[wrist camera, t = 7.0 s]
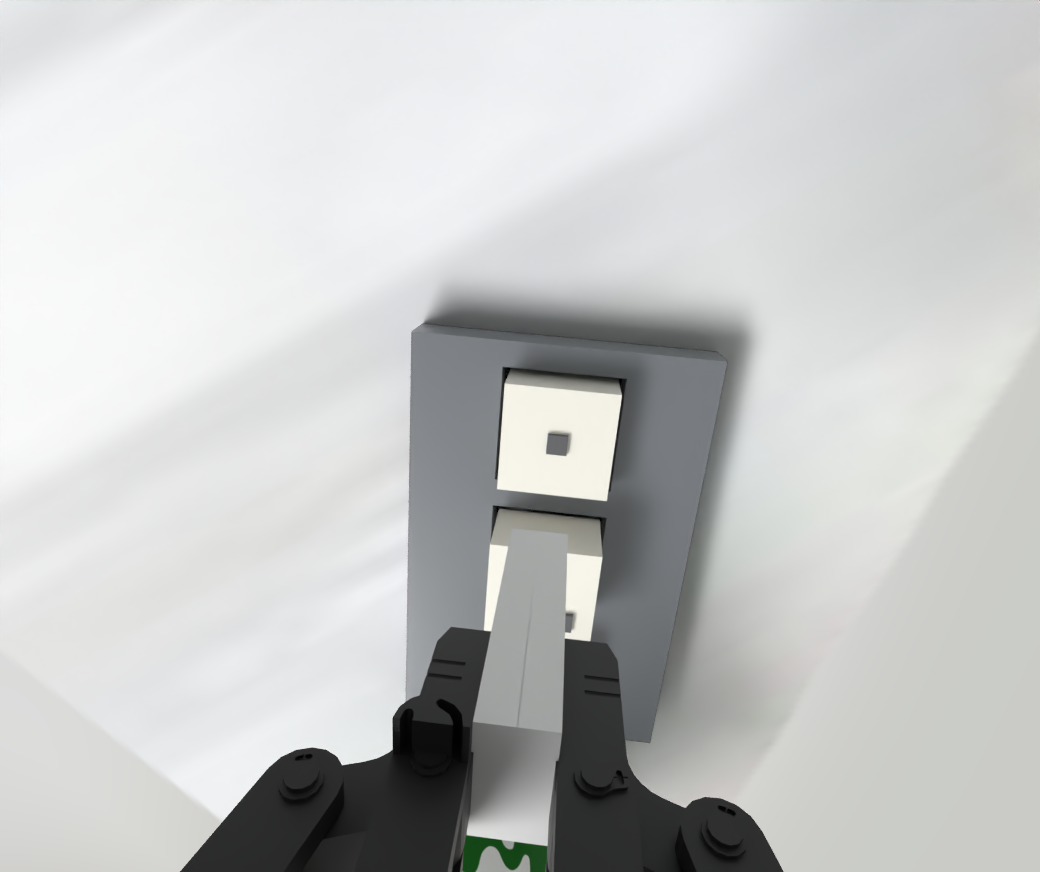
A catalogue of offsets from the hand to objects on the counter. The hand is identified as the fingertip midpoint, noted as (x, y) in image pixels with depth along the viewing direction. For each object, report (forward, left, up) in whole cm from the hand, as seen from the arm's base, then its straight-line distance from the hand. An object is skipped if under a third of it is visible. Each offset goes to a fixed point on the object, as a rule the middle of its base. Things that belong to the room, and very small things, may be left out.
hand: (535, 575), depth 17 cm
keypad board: (+7, 0, -14) cm, 16 cm away
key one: (0, 0, -14) cm, 14 cm away
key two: (+7, 0, -13) cm, 15 cm away
